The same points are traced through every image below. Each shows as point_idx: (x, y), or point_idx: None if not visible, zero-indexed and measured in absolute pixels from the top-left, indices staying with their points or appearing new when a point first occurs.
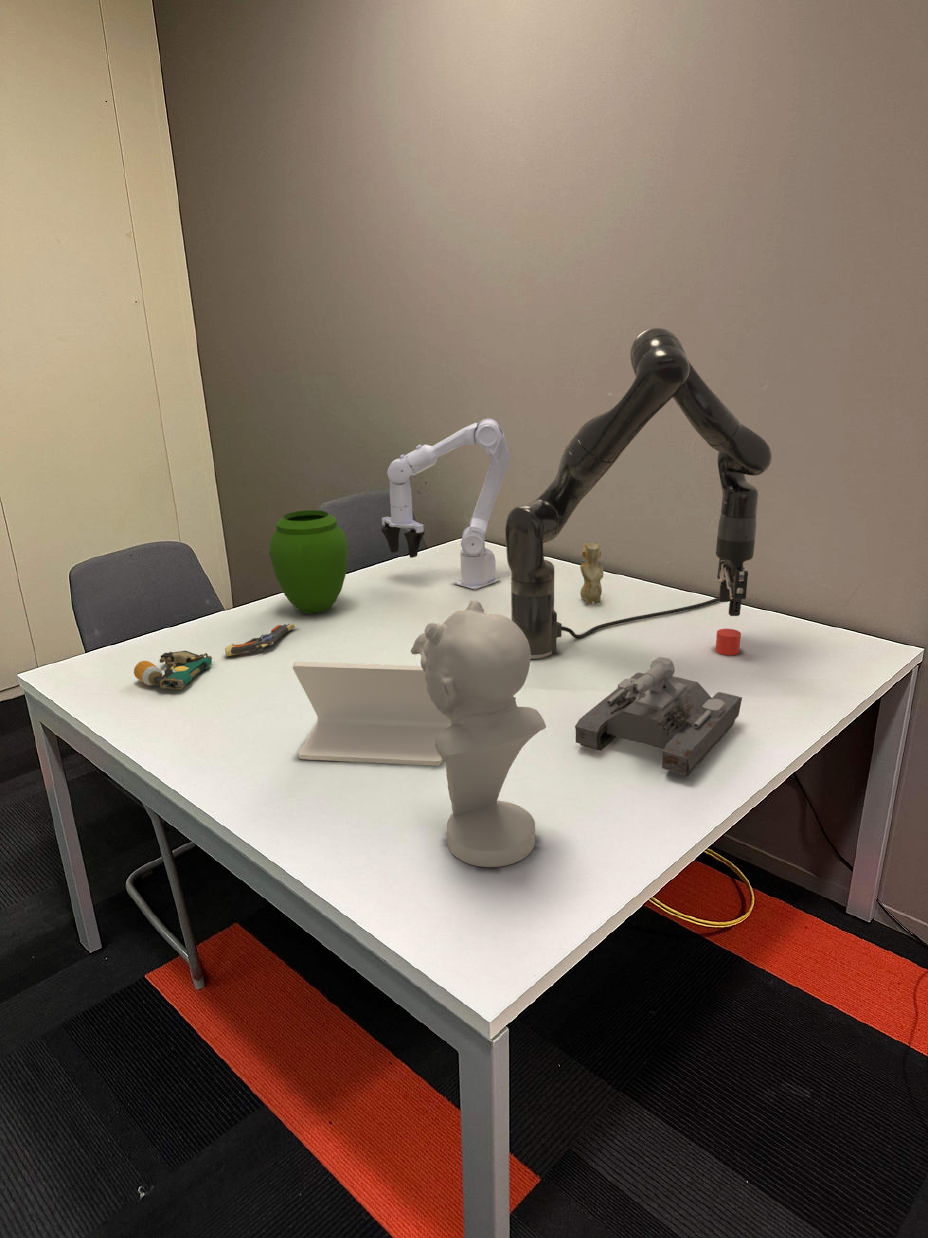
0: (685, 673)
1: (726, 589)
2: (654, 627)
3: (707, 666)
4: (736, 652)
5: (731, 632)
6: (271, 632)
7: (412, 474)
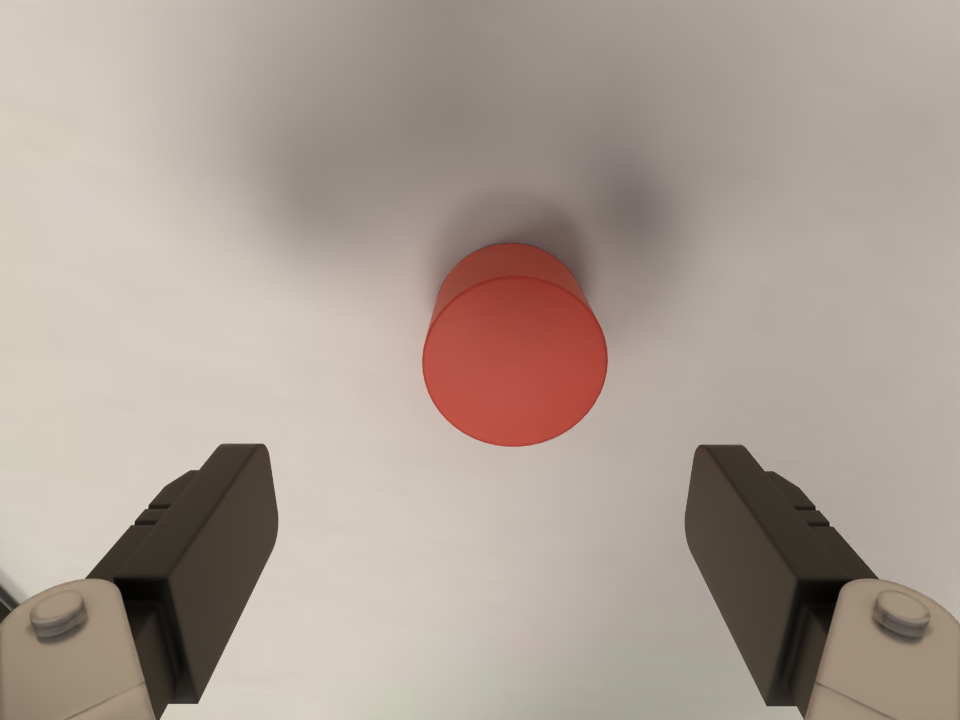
0: None
1: (206, 590)
2: None
3: None
4: (575, 280)
5: (512, 347)
6: None
7: None
